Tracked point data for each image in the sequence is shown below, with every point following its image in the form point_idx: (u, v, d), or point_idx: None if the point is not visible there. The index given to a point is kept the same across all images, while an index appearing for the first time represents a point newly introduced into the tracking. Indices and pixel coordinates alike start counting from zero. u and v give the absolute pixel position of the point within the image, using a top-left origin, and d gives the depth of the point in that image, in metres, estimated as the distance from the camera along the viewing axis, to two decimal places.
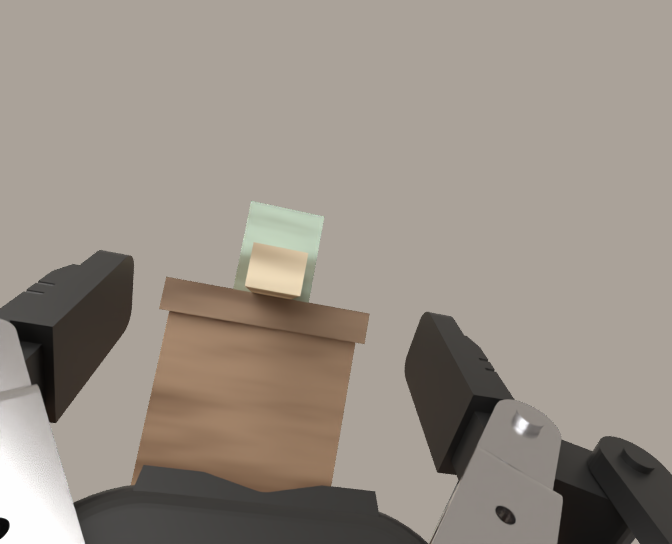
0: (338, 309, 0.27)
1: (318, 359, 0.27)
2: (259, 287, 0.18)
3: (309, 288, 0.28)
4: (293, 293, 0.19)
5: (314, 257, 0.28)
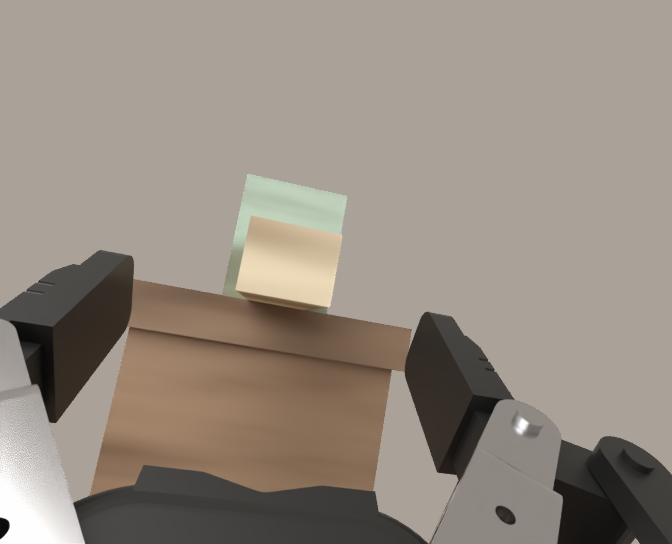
0: (369, 323, 0.19)
1: (341, 394, 0.19)
2: (260, 292, 0.11)
3: None
4: (318, 302, 0.11)
5: None
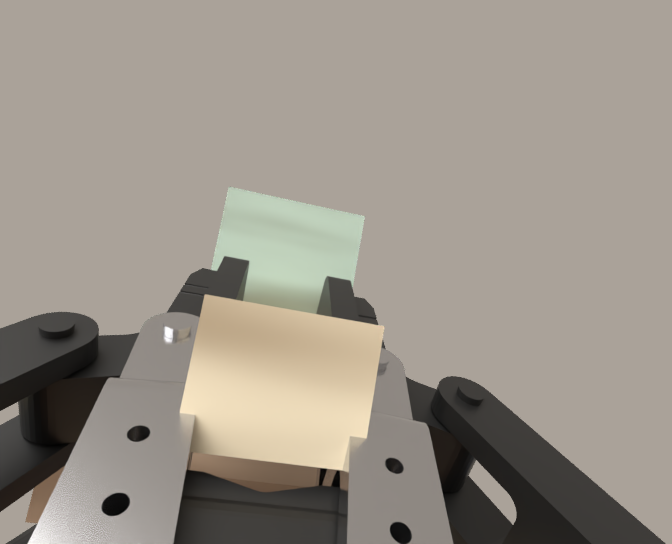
0: None
1: None
2: (223, 451, 0.05)
3: None
4: (338, 465, 0.06)
5: None
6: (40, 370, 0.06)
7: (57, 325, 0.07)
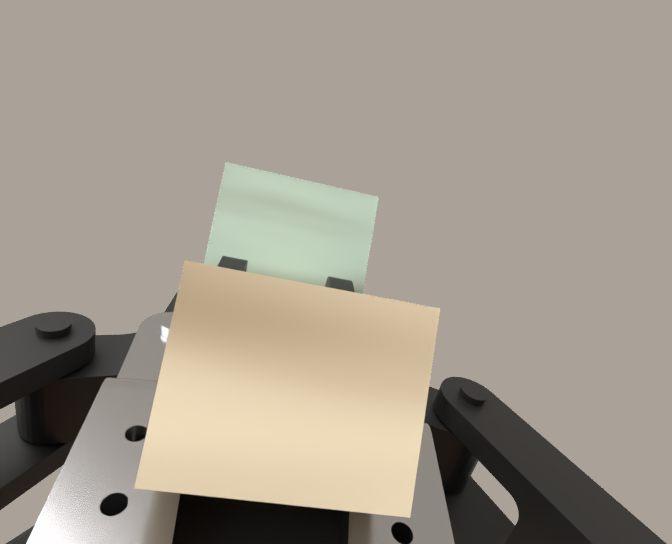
0: None
1: None
2: (212, 489, 0.04)
3: None
4: (378, 507, 0.04)
5: (359, 282, 0.13)
6: (37, 371, 0.06)
7: (53, 325, 0.07)
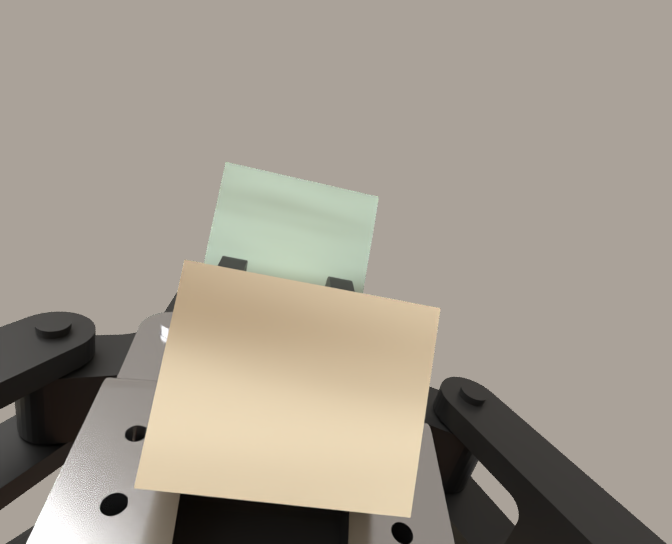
0: None
1: None
2: (211, 489, 0.04)
3: None
4: (379, 507, 0.04)
5: (359, 282, 0.13)
6: (36, 371, 0.06)
7: (54, 325, 0.07)
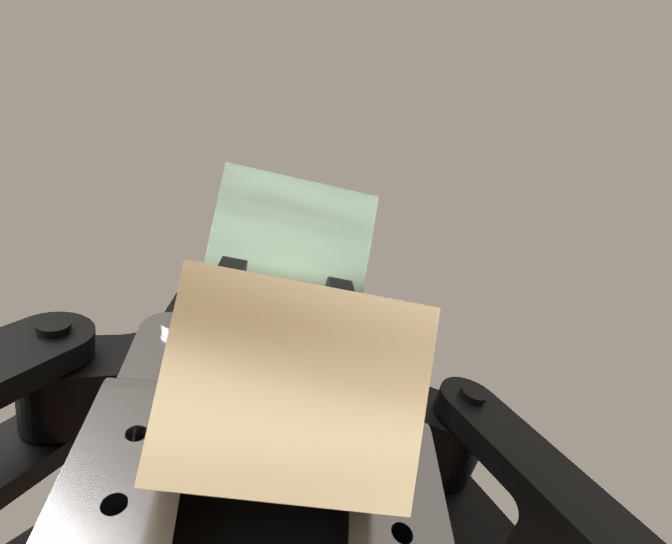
0: None
1: None
2: (211, 489, 0.04)
3: None
4: (378, 507, 0.04)
5: (359, 282, 0.13)
6: (36, 371, 0.06)
7: (54, 325, 0.07)
